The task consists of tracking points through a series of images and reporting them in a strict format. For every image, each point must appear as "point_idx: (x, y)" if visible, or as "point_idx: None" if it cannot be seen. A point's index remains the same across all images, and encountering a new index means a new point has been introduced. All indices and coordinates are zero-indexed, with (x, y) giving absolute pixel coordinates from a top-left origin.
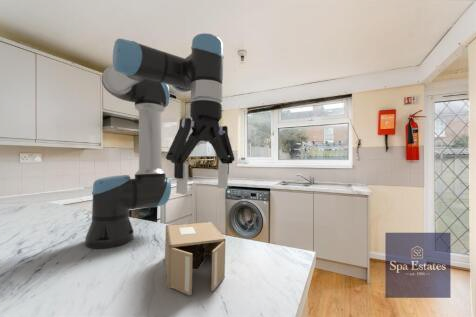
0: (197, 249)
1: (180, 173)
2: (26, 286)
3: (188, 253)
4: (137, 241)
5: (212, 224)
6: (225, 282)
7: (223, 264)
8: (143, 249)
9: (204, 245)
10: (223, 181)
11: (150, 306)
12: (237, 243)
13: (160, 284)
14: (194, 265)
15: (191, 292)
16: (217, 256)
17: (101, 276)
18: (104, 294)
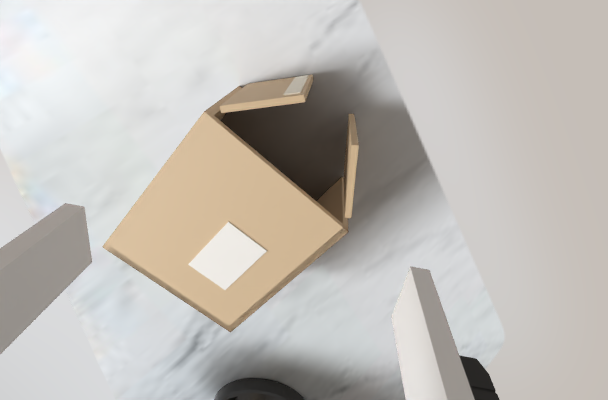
0: None
1: (475, 389)
2: None
3: (356, 155)
4: (229, 368)
5: (121, 226)
6: (257, 71)
7: (242, 90)
8: (249, 332)
9: None
10: (56, 249)
11: (412, 166)
12: (46, 156)
13: None
14: None
15: (349, 114)
16: (280, 92)
17: (376, 313)
18: (417, 264)
